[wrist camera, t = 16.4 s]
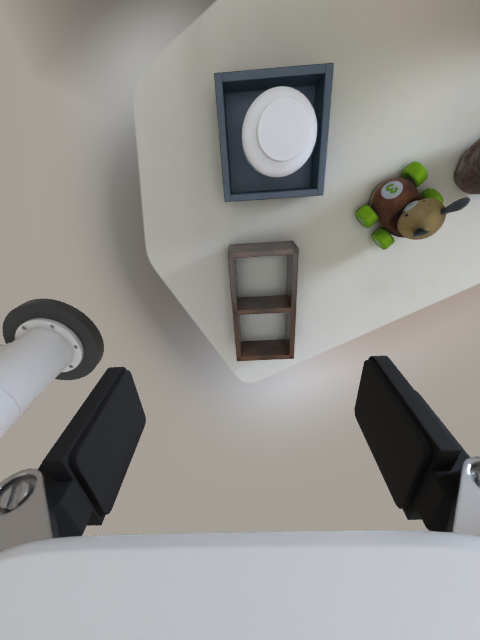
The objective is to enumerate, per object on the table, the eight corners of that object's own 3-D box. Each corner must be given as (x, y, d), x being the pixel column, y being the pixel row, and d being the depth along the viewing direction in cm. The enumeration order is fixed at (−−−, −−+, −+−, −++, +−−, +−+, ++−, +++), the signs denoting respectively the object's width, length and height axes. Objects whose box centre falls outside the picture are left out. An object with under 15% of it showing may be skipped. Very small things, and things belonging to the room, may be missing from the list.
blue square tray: (227, 198, 39) (224, 202, 34) (218, 86, 33) (214, 72, 28) (313, 192, 38) (323, 195, 34) (321, 78, 32) (333, 62, 28)
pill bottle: (236, 117, 33) (233, 85, 22) (295, 101, 33) (324, 59, 21) (248, 182, 37) (250, 185, 25) (301, 169, 36) (329, 167, 24)
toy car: (406, 157, 36) (467, 150, 26) (436, 206, 39) (501, 217, 29) (349, 208, 39) (384, 220, 29) (381, 250, 42) (422, 274, 32)
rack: (237, 345, 51) (236, 361, 47) (229, 244, 42) (227, 252, 37) (289, 342, 51) (293, 358, 46) (292, 240, 41) (298, 248, 37)
